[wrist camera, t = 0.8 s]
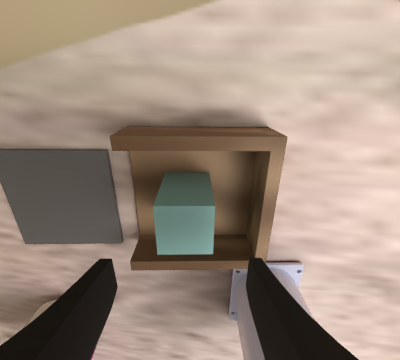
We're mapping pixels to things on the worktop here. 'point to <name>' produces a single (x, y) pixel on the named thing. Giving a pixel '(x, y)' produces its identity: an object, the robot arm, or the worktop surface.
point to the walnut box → (221, 186)
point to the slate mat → (61, 195)
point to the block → (184, 214)
